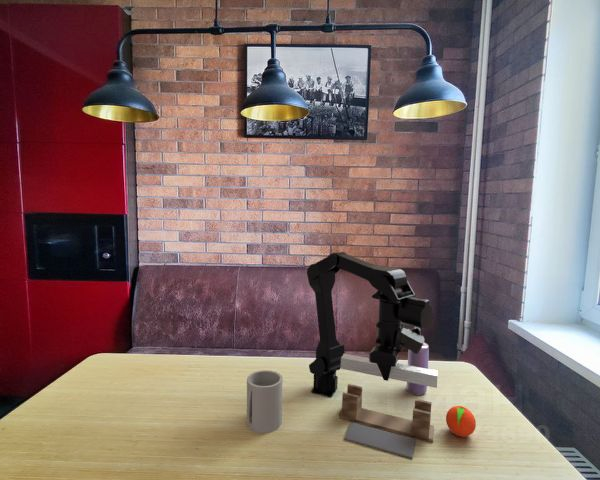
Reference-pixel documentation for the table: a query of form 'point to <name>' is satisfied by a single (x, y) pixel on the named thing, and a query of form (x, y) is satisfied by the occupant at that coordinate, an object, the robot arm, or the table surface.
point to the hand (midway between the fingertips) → (386, 377)
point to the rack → (387, 416)
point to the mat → (381, 440)
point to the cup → (264, 401)
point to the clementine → (460, 421)
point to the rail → (397, 372)
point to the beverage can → (418, 361)
